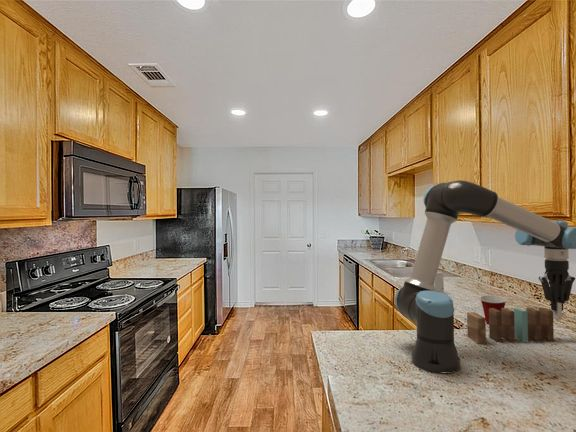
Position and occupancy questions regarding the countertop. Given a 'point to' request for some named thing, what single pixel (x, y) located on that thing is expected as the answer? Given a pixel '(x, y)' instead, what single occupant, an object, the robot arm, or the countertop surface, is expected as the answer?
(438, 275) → the skincare box
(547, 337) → the domino
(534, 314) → the domino
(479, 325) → the block
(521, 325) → the domino
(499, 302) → the plastic cup
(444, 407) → the countertop surface
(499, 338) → the domino
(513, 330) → the domino
